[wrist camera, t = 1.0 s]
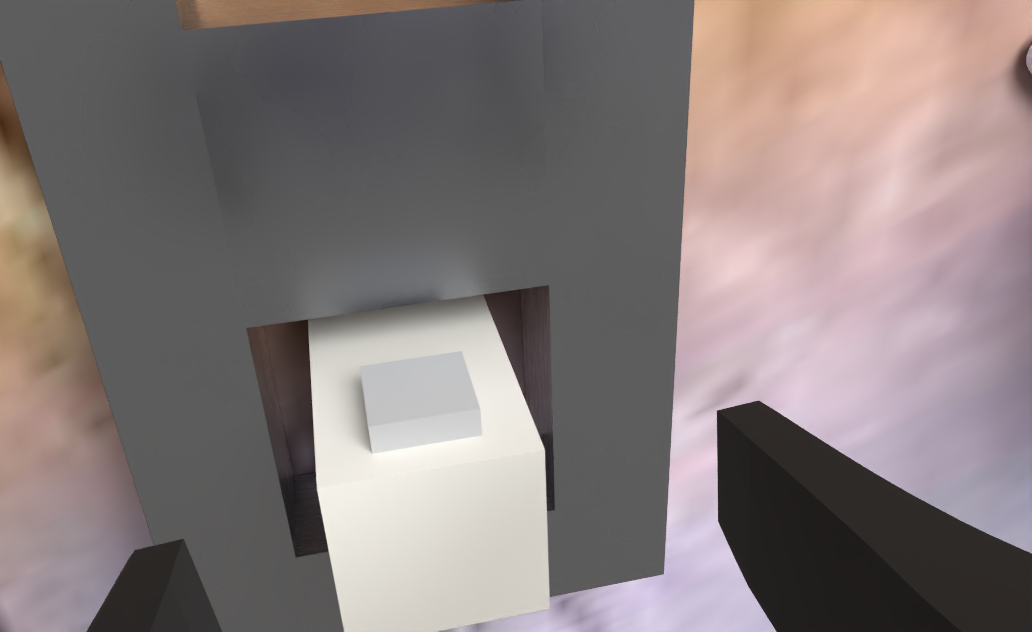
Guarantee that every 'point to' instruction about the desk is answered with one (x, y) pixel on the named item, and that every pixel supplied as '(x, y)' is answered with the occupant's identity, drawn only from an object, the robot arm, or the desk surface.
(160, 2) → the jack panel
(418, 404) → the plug
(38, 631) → the desk surface
